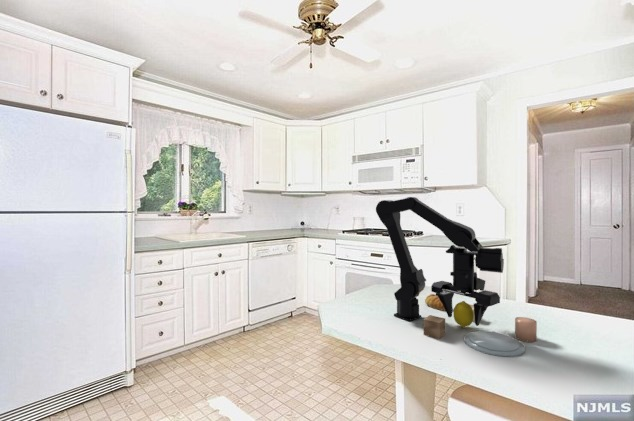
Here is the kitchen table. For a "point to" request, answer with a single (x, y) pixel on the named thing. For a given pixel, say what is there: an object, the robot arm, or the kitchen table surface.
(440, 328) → the walnut block
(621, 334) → the kitchen table surface
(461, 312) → the lemon
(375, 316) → the kitchen table surface
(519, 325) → the pink cylinder
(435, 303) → the pastry
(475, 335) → the plate
